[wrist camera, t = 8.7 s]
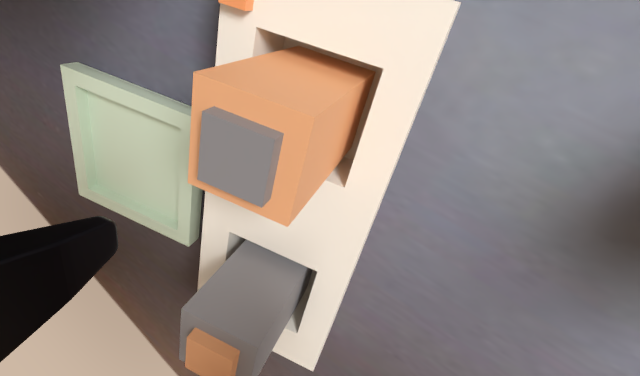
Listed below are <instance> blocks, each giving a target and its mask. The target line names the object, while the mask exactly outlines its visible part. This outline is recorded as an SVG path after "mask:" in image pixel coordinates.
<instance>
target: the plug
mask: <svg viewBox="0 0 640 376" xmlns="http://www.w3.org/2000/svg"><path fill="white" fill-rule="evenodd" d="M375 73H376V72H375V71H372V70H369V69H366V68H363V67H360V66H357V65H354V64H351V63H348V62H345V61H342V60H339V59H336V58H333V57H331V56H328V55H325V54H322V53H319V52H316V51H313V50H310V49H307V48H304V47H301V46H295V47H291V48H287V49H283V50H279V51H275V52H271V53H267V54H263V55H259V56H255V57H251V58H247V59H243V60H239V61H235V62H231V63H227V64H223V65H219V66H215V67H211V68H207V69H203V70H199V71H195V72H193V90H192V109H191V128H190V147H189V166H188V183H189V184H191V185H193V186H196V187H198V188H200V189H203V190H205V191H207V192H209V193H212V194H214V195H216V196H218V197H221V198H223V199H225V200H227V201H230V202H232V203H234V204H236V205H239V206H241V207H243V208H245V209H248V210H250V211H252V212H255V213H257V214H259V215H261V216H264V217H266V218H268V219H270V220H273V221H275V222H277V223H279V224H282V225H284V226H286V227H288V226H289V225H290V224H291V222H292V221H293V220H294V219H295V217H296V216H297V215H298V214H299V212H300V211H301V210H302V209H303V207H304V206H305V205H306V204H307V202H308V201H309V200H310V199H311V197H312V196H313V195H314V194H315V192H316V191H317V190H318V189H319V187H320V186H321V185H322V184H323V182H324V181H325V180H326V179H327V177H328V176H329V175H330V174H331V172H332V171H333V170H334V169H335V167H336V166H337V165H338V164H339V162H340V161H341V160H342V159H343V157H344V156H345V155H346V154H347V152H348V151H349V150H350V149H351V147H352V144H353V141H354V138H355V135H356V132H357V129H358V126H359V122H360V119H361V116H362V113H363V110H364V107H365V104H366V101H367V98H368V94H369V91H370V88H371V85H372V82H373V79H374V76H375Z"/></svg>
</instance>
